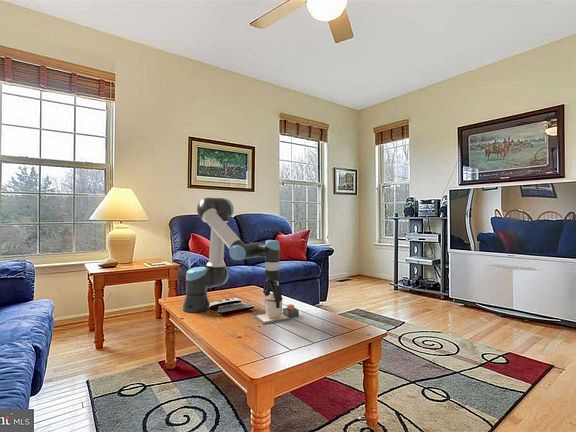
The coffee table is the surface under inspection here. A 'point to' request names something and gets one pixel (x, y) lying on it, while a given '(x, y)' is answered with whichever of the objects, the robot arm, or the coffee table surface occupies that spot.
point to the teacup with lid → (271, 306)
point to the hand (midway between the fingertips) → (272, 310)
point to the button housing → (291, 312)
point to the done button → (290, 307)
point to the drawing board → (271, 318)
